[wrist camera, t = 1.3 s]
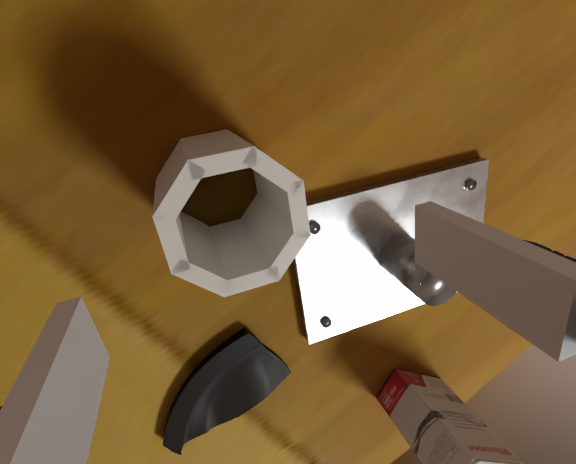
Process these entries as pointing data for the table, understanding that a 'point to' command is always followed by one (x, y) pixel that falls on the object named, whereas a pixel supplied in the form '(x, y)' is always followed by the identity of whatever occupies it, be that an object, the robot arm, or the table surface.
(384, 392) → the ink box
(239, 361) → the curved wedge
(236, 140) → the octagonal hollow tube
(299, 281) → the duct plate
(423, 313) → the table surface
